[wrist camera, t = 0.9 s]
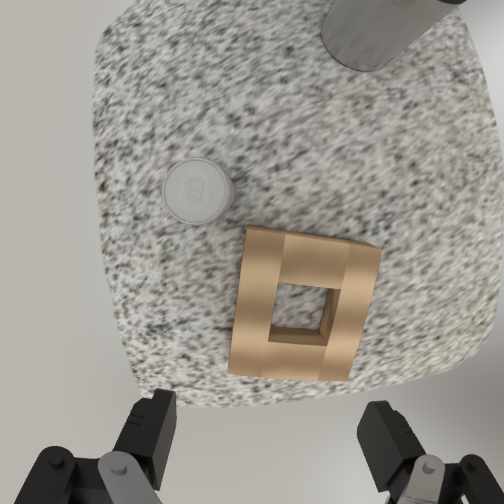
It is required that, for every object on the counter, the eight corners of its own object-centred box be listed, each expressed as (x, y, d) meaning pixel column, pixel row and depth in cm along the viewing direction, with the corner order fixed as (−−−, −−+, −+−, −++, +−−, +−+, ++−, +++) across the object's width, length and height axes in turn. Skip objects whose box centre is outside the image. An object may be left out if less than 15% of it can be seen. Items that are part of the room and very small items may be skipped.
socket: (246, 224, 32) (246, 229, 28) (367, 242, 32) (382, 249, 28) (229, 355, 35) (227, 373, 31) (337, 364, 35) (346, 381, 31)
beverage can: (188, 212, 31) (156, 223, 20) (193, 167, 30) (163, 153, 19) (233, 217, 32) (225, 230, 20) (238, 172, 31) (234, 158, 19)
